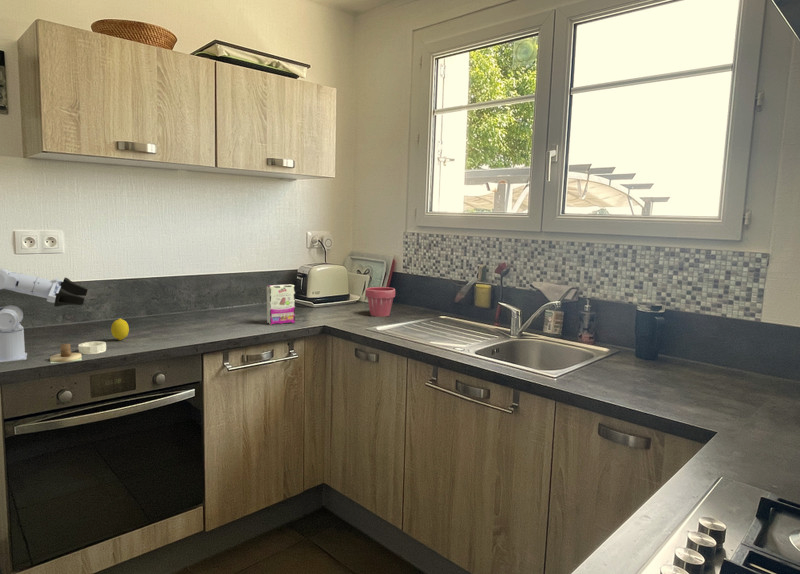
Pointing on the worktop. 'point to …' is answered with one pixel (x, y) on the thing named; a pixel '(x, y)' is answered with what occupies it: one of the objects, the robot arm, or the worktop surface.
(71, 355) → the lid
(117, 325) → the lemon
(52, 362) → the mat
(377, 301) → the plant pot
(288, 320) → the candy bar box
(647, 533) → the worktop surface
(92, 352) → the bowl
